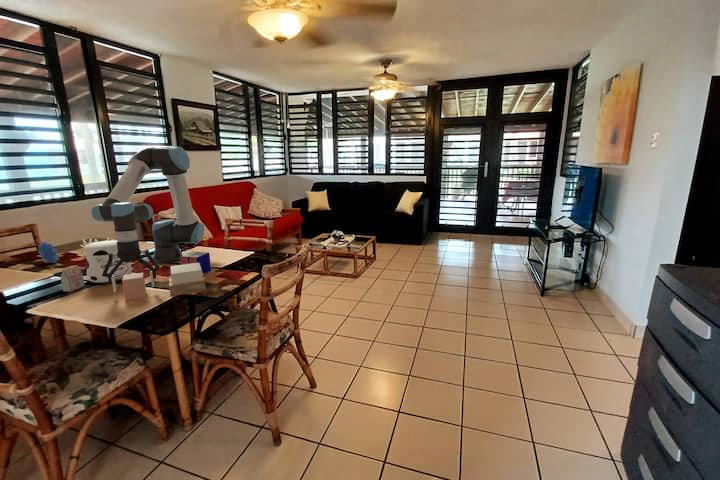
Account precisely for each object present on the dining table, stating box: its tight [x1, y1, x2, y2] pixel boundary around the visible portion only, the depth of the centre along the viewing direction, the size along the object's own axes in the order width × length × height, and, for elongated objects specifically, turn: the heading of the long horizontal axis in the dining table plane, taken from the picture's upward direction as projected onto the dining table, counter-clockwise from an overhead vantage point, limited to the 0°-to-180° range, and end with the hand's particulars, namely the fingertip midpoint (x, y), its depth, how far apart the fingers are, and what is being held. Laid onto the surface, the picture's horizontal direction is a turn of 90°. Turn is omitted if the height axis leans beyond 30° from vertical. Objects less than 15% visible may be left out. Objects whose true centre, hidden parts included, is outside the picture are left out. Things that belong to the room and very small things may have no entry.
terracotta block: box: [121, 272, 147, 301], centre depth 143 cm, size 7×7×9 cm
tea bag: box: [60, 265, 86, 293], centre depth 150 cm, size 4×7×10 cm, turn 173°
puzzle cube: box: [179, 250, 212, 275], centre depth 172 cm, size 10×10×10 cm
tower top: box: [170, 263, 203, 285], centre depth 152 cm, size 12×12×5 cm
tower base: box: [168, 273, 207, 297], centre depth 153 cm, size 14×14×5 cm
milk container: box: [84, 239, 133, 285], centre depth 160 cm, size 17×17×18 cm
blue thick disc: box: [37, 241, 59, 264], centre depth 184 cm, size 12×7×12 cm, turn 79°
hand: (134, 288), depth 143 cm, fingers open, 13 cm apart
